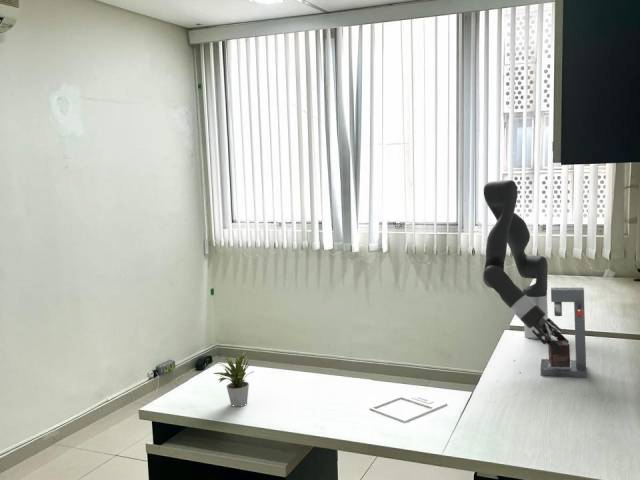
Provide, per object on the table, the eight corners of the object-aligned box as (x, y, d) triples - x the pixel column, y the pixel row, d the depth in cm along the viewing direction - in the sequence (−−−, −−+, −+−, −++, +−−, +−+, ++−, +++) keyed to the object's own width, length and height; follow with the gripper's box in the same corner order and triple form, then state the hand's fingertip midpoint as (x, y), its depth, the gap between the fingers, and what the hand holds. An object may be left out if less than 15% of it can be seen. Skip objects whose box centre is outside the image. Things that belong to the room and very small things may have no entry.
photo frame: (447, 402, 179) (404, 420, 168) (447, 406, 179) (405, 424, 169) (411, 391, 191) (369, 407, 180) (411, 394, 191) (369, 410, 180)
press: (541, 364, 211) (538, 285, 208) (585, 366, 205) (583, 285, 203) (540, 380, 195) (537, 295, 192) (587, 383, 190) (585, 295, 187)
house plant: (225, 394, 202) (221, 347, 200) (265, 394, 199) (261, 346, 198) (210, 411, 188) (206, 359, 186) (253, 410, 185) (249, 359, 184)
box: (570, 366, 199) (569, 344, 198) (551, 366, 200) (550, 345, 200) (567, 361, 205) (566, 339, 204) (548, 361, 206) (547, 340, 206)
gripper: (528, 308, 200) (565, 346, 194) (541, 300, 211) (577, 335, 205) (513, 322, 203) (549, 360, 197) (526, 314, 215) (561, 349, 209)
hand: (563, 347), depth 201 cm, fingers open, 8 cm apart
